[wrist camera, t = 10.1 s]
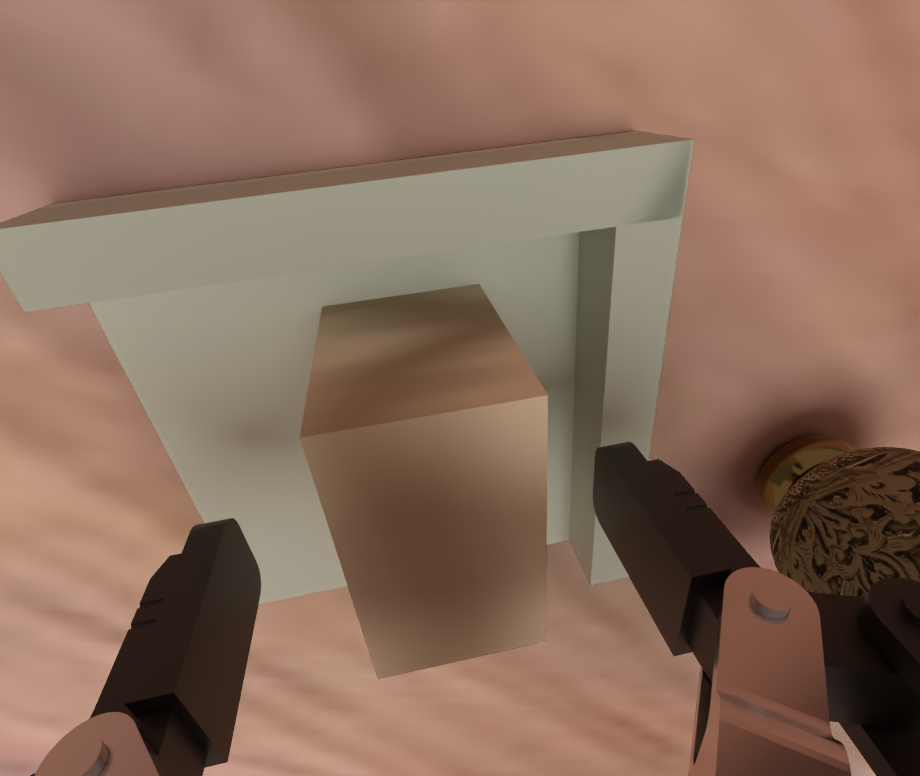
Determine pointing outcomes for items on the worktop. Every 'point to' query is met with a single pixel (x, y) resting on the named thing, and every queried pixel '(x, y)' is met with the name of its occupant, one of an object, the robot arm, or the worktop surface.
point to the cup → (843, 514)
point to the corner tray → (364, 278)
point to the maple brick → (431, 475)
